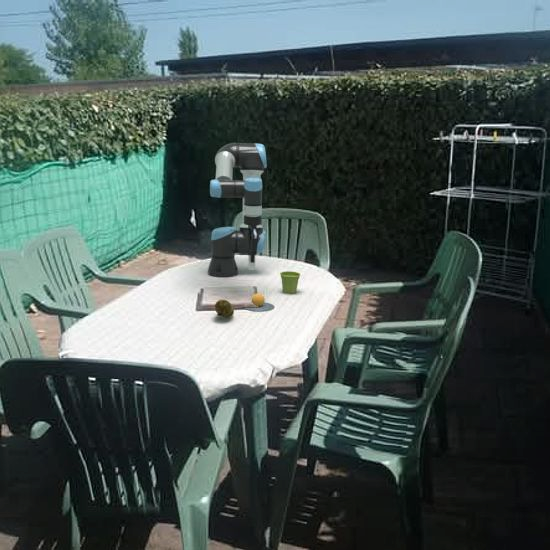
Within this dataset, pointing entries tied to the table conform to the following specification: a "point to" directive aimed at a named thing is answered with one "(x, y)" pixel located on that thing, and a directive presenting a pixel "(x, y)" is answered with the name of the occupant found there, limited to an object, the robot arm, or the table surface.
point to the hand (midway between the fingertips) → (251, 269)
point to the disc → (262, 308)
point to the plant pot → (289, 281)
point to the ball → (258, 299)
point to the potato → (224, 308)
